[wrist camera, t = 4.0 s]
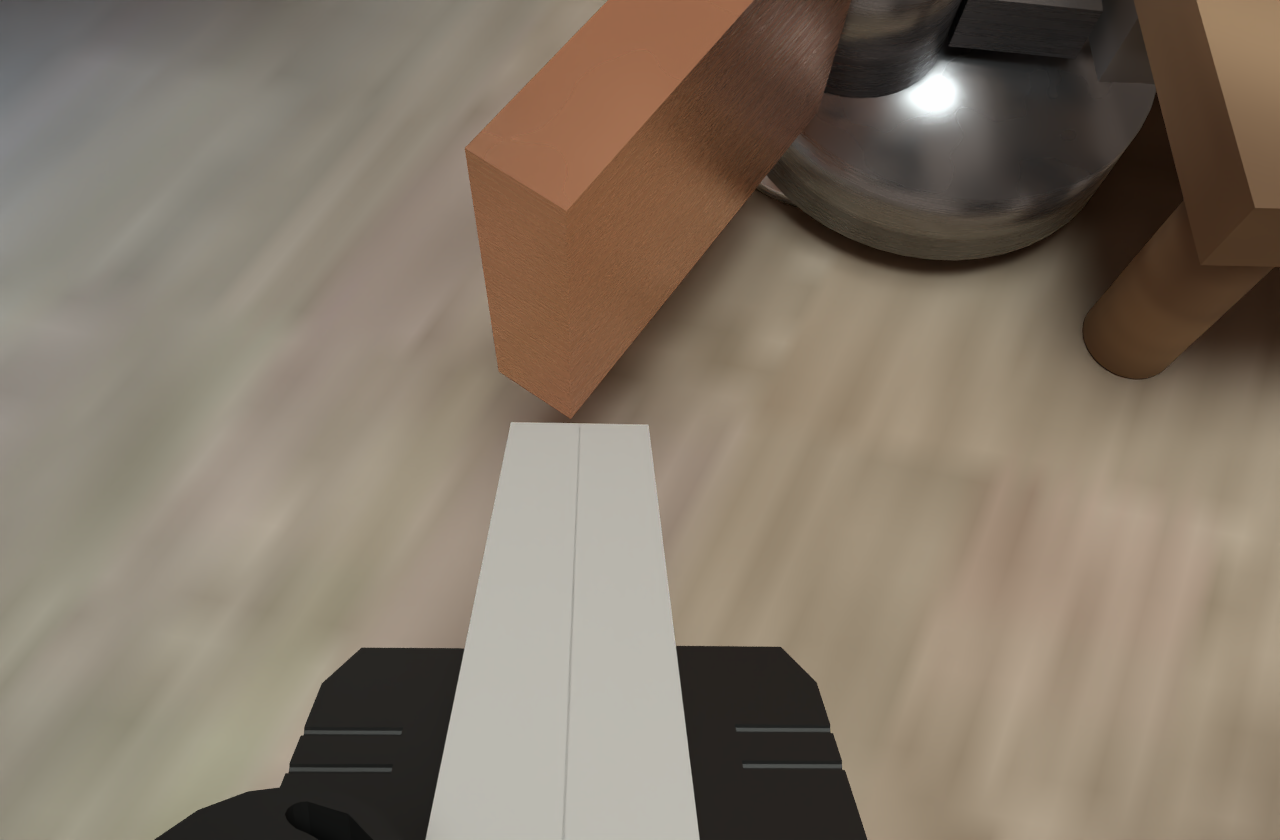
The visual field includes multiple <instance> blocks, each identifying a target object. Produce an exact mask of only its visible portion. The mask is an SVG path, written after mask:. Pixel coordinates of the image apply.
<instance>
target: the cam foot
mask: <svg viewBox="0 0 1280 840" xmlns="http://www.w3.org/2000/svg"><path fill="white" fill-rule="evenodd" d="M1102 12H1103V6H1102V0H608V1H607V2H606V3H605V4H604V5H603V6H602V7H601V8H600V9H599V10H598V11H597V12H596V13H595V14H594V15H593V16H592V17H591V18H590V19H589V20H588V21H587V23H586V24H585V25H584V26H583V27H582V28H581V29H580V30H579V31H578V32H577V33H576V34H575V35H574V36H573V37H572V38H571V39H570V40H569V41H568V42H567V43H566V44H565V45H564V46H563V47H562V48H561V49H560V50H559V51H558V52H557V54H556V55H555V56H554V57H553V58H552V59H551V60H550V61H549V62H548V63H547V64H546V65H545V66H544V67H543V68H542V69H541V70H540V71H539V72H538V73H537V74H536V75H535V76H534V77H533V78H532V79H531V80H530V81H529V82H528V83H527V84H526V86H525V87H524V88H523V89H522V90H521V91H520V92H519V93H518V94H517V95H516V96H515V97H514V98H513V99H512V100H511V101H510V102H509V103H508V104H507V105H506V106H505V107H504V108H503V109H502V110H501V111H500V112H499V113H498V114H497V115H496V116H495V118H494V119H493V120H492V121H491V122H490V123H489V124H488V125H487V126H486V127H485V128H484V129H483V130H482V131H481V132H480V133H479V134H478V135H477V136H476V137H475V138H474V139H473V140H472V141H471V142H470V143H469V144H468V145H467V146H466V147H465V153H466V159H467V166H468V172H469V179H470V185H471V192H472V199H473V205H474V212H475V218H476V225H477V232H478V238H479V245H480V251H481V258H482V264H483V271H484V278H485V284H486V291H487V297H488V304H489V310H490V317H491V324H492V330H493V337H494V343H495V350H496V356H497V363H498V370H499V372H501V373H502V374H504V375H505V376H507V377H508V378H510V379H511V380H513V381H514V382H516V383H517V384H519V385H520V386H522V387H523V388H525V389H526V390H528V391H529V392H531V393H532V394H534V395H535V396H537V397H538V398H540V399H541V400H543V401H544V402H546V403H547V404H549V405H550V406H552V407H553V408H555V409H556V410H558V411H559V412H561V413H563V414H564V415H566V416H567V417H569V418H570V419H571V418H572V417H573V416H574V415H575V413H576V412H577V411H578V410H579V408H580V407H581V406H582V405H583V403H584V402H585V401H586V400H587V398H588V397H589V396H590V395H591V393H592V392H593V391H594V390H595V388H596V387H597V386H598V385H599V383H600V382H601V381H602V380H603V378H604V377H605V376H606V375H607V373H608V372H609V371H610V370H611V368H612V367H613V366H614V365H615V363H616V362H617V361H618V360H619V358H620V357H621V356H622V355H623V353H624V352H625V351H626V350H627V348H628V347H629V346H630V345H631V343H632V342H633V341H634V340H635V339H636V337H637V336H638V335H639V334H640V332H641V331H642V330H643V329H644V327H645V326H646V325H647V324H648V322H649V321H650V320H651V319H652V317H653V316H654V315H655V314H656V312H657V311H658V310H659V309H660V307H661V306H662V305H663V304H664V302H665V301H666V300H667V299H668V297H669V296H670V295H671V294H672V292H673V291H674V290H675V289H676V287H677V286H678V285H679V284H680V282H681V281H682V280H683V279H684V277H685V276H686V275H687V274H688V272H689V271H690V270H691V269H692V268H693V266H694V265H695V264H696V263H697V261H698V260H699V259H700V258H701V256H702V255H703V254H704V253H705V251H706V250H707V249H708V248H709V246H710V245H711V244H712V243H713V241H714V240H715V239H716V238H717V236H718V235H719V234H720V233H721V231H722V230H723V229H724V228H725V226H726V225H727V224H728V223H729V221H730V220H731V219H732V218H733V216H734V215H735V214H736V213H737V211H738V210H739V209H740V208H741V206H742V205H743V204H744V203H745V201H746V200H747V199H748V198H749V196H750V195H751V194H752V193H753V192H754V190H755V189H756V188H757V187H758V185H759V184H760V183H761V182H762V180H763V179H764V178H765V177H766V175H767V176H768V178H769V179H770V180H771V181H772V182H773V183H774V184H775V185H776V186H777V188H778V189H779V190H780V191H781V192H782V193H783V194H784V195H785V196H786V197H787V198H788V199H790V200H791V201H792V202H793V203H794V204H795V205H797V206H798V207H799V208H800V209H801V210H803V211H804V212H805V213H807V214H808V215H810V216H811V217H813V218H814V219H816V220H817V221H819V222H820V223H822V224H823V225H825V226H826V227H828V228H830V229H832V230H834V231H836V232H838V233H840V234H842V235H844V236H846V237H848V238H850V239H852V240H855V241H857V242H860V243H862V244H865V245H868V246H870V247H873V248H876V249H879V250H883V251H887V252H891V253H894V254H898V255H903V256H909V257H916V258H922V259H931V260H968V259H981V258H986V257H991V256H996V255H1001V254H1006V253H1009V252H1012V251H1015V250H1018V249H1021V248H1024V247H1027V246H1029V245H1031V244H1033V243H1035V242H1037V241H1040V240H1042V239H1044V238H1046V237H1048V236H1049V235H1051V234H1052V233H1054V232H1055V231H1057V230H1058V229H1060V228H1061V227H1063V226H1064V225H1065V224H1067V223H1068V222H1069V221H1070V220H1071V219H1072V218H1073V217H1074V216H1075V215H1076V214H1078V213H1079V212H1080V211H1081V210H1082V209H1083V208H1084V206H1085V205H1086V204H1087V202H1088V201H1089V200H1090V198H1091V197H1092V196H1093V194H1094V193H1095V192H1096V190H1097V189H1098V187H1099V186H1100V185H1101V183H1102V182H1103V180H1104V179H1105V178H1106V176H1107V175H1108V173H1109V172H1110V171H1111V169H1112V168H1113V166H1114V165H1115V164H1116V162H1117V161H1118V159H1119V158H1120V157H1121V155H1122V154H1123V152H1124V151H1125V150H1126V148H1127V147H1128V145H1129V144H1130V143H1131V141H1132V140H1133V138H1134V137H1135V136H1136V134H1137V133H1138V131H1139V130H1140V129H1141V127H1142V125H1143V123H1144V121H1145V119H1146V117H1147V115H1148V113H1149V111H1150V109H1151V106H1152V103H1153V100H1154V96H1155V93H1156V87H1155V84H1150V83H1118V82H1098V79H1097V75H1096V70H1095V66H1094V61H1093V57H1092V52H1091V48H1090V43H1089V39H1088V36H1089V34H1090V33H1091V31H1092V29H1093V28H1094V26H1095V24H1096V22H1097V21H1098V19H1099V17H1100V15H1101V14H1102Z"/></svg>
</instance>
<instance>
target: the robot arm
mask: <svg viewBox="0 0 1280 840" xmlns="http://www.w3.org/2000/svg"><path fill="white" fill-rule="evenodd" d="M155 840H867V837H866V834H865V831H864V828H863V825H862V822H861V818H860V815H859V812H858V809H857V806H856V803H855V800H854V797H853V794H852V791H851V788H850V784H849V781H848V778H847V775H846V772H845V770H842V760H841V757H840V754H839V751H838V747H837V744H836V741H835V738H834V735H833V733H830V723H829V720H828V717H827V713H826V710H825V707H824V704H823V701H822V698H821V695H820V692H819V689H818V686H817V683H816V682H815V681H814V680H813V679H812V678H811V677H810V676H809V675H808V674H807V673H806V672H805V671H804V670H803V669H802V668H801V667H800V666H799V665H798V664H797V663H796V662H795V661H794V660H793V659H792V658H791V657H790V656H789V655H788V654H787V653H786V652H785V651H784V650H783V649H782V648H781V647H734V646H676V644H675V636H674V627H673V619H672V611H671V603H670V595H669V587H668V579H667V571H666V562H665V554H664V546H663V538H662V530H661V522H660V514H659V506H658V497H657V489H656V481H655V473H654V465H653V457H652V449H651V441H650V432H649V425H646V424H589V423H532V422H511V424H510V429H509V434H508V439H507V444H506V449H505V454H504V459H503V463H502V468H501V473H500V478H499V483H498V488H497V493H496V498H495V503H494V507H493V512H492V517H491V522H490V527H489V532H488V537H487V542H486V546H485V551H484V556H483V561H482V566H481V571H480V576H479V581H478V586H477V590H476V595H475V600H474V605H473V610H472V615H471V620H470V625H469V630H468V634H467V639H466V644H465V649H459V648H361V649H360V650H359V651H357V652H356V653H355V654H354V655H353V656H352V657H351V658H350V659H349V660H348V661H346V662H345V663H344V664H343V665H342V666H341V667H340V668H339V669H338V670H336V671H335V672H334V673H333V674H332V675H331V676H330V677H329V678H328V679H327V680H325V681H324V682H323V683H322V685H321V687H320V690H319V692H318V695H317V697H316V700H315V702H314V704H313V707H312V709H311V712H310V714H309V717H308V719H307V722H306V724H305V727H304V736H301V737H300V739H299V742H298V744H297V747H296V749H295V752H294V754H293V756H292V759H291V761H290V768H289V773H286V774H285V776H284V779H283V781H282V784H281V786H280V788H273V789H265V790H257V791H249V792H246V793H243V794H240V795H237V796H235V797H232V798H229V799H227V800H224V801H221V802H219V803H216V804H213V805H211V806H208V807H205V808H202V809H200V810H198V811H196V812H195V813H193V814H192V815H190V816H189V817H187V818H186V819H184V820H183V821H181V822H180V823H178V824H177V825H175V826H174V827H172V828H171V829H170V830H168V831H167V832H165V833H164V834H162V835H161V836H159V837H158V838H156V839H155Z"/></svg>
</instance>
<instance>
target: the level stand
mask: <svg viewBox="0 0 1280 840" xmlns="http://www.w3.org/2000/svg"><path fill="white" fill-rule="evenodd" d="M1102 6H1103V12H1102V14H1101V15H1100V17H1099V19H1098V21H1097V22H1096V24H1095V26H1094V28H1093V29H1092V31H1091V33H1090V34H1089V36H1088V39H1089V43H1090V48H1091V52H1092V57H1093V61H1094V66H1095V70H1096V75H1097V79H1098V82H1118V83H1150V84H1155V87H1156V91H1157V95H1158V99H1159V103H1160V107H1161V111H1162V115H1163V119H1164V123H1165V127H1166V131H1167V135H1168V139H1169V142H1170V146H1171V150H1172V154H1173V158H1174V162H1175V166H1176V170H1177V174H1178V178H1179V182H1180V186H1181V190H1182V194H1183V198H1184V200H1183V201H1182V202H1181V203H1180V204H1179V206H1178V207H1177V208H1176V209H1175V210H1174V212H1173V213H1172V214H1171V215H1170V216H1169V217H1168V219H1167V220H1166V221H1165V222H1164V223H1163V225H1162V226H1161V227H1160V228H1159V229H1158V230H1157V232H1156V233H1155V234H1154V235H1153V236H1152V238H1151V239H1150V240H1149V241H1148V242H1147V243H1146V245H1145V246H1144V247H1143V248H1142V249H1141V251H1140V252H1139V253H1138V254H1137V255H1136V256H1135V258H1134V259H1133V260H1132V261H1131V262H1130V264H1129V265H1128V266H1127V267H1126V268H1125V269H1124V271H1123V272H1122V273H1121V274H1120V275H1119V276H1118V278H1117V279H1116V280H1115V281H1114V282H1113V284H1112V285H1111V286H1110V287H1109V288H1108V289H1107V291H1106V292H1105V293H1104V294H1103V295H1102V297H1101V298H1100V299H1099V300H1098V301H1097V302H1096V304H1095V305H1094V306H1093V307H1092V308H1091V310H1090V311H1089V312H1088V314H1087V315H1086V317H1085V320H1084V324H1083V336H1084V340H1085V343H1086V346H1087V348H1088V350H1089V352H1090V353H1091V355H1092V356H1093V357H1094V358H1095V359H1096V361H1097V362H1098V363H1100V364H1101V365H1102V366H1103V367H1105V368H1106V369H1107V370H1109V371H1111V372H1113V373H1115V374H1117V375H1120V376H1123V377H1127V378H1133V379H1144V378H1149V377H1152V376H1155V375H1157V374H1159V373H1160V372H1162V371H1163V370H1164V369H1165V368H1166V367H1168V366H1169V365H1170V364H1171V363H1172V362H1173V361H1174V360H1175V359H1176V358H1177V357H1178V356H1179V355H1180V354H1182V353H1183V352H1184V351H1185V350H1186V349H1187V348H1188V347H1189V346H1190V345H1191V344H1192V343H1193V342H1194V341H1196V340H1197V339H1198V338H1199V337H1200V336H1201V335H1202V334H1203V333H1204V332H1205V331H1206V330H1207V329H1208V328H1210V327H1211V326H1212V325H1213V324H1214V323H1215V322H1216V321H1217V320H1218V319H1219V318H1220V317H1221V316H1222V315H1224V314H1225V313H1226V312H1227V311H1228V310H1229V309H1230V308H1231V307H1232V306H1233V305H1234V304H1235V303H1236V302H1238V301H1239V300H1240V299H1241V298H1242V297H1243V296H1244V295H1245V294H1246V293H1247V292H1248V291H1249V290H1250V289H1252V288H1253V287H1254V286H1255V285H1256V284H1257V283H1258V282H1259V281H1260V280H1261V279H1262V278H1263V277H1264V276H1266V275H1267V274H1268V273H1269V272H1270V271H1271V270H1272V269H1273V268H1274V267H1280V0H1102Z"/></svg>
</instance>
